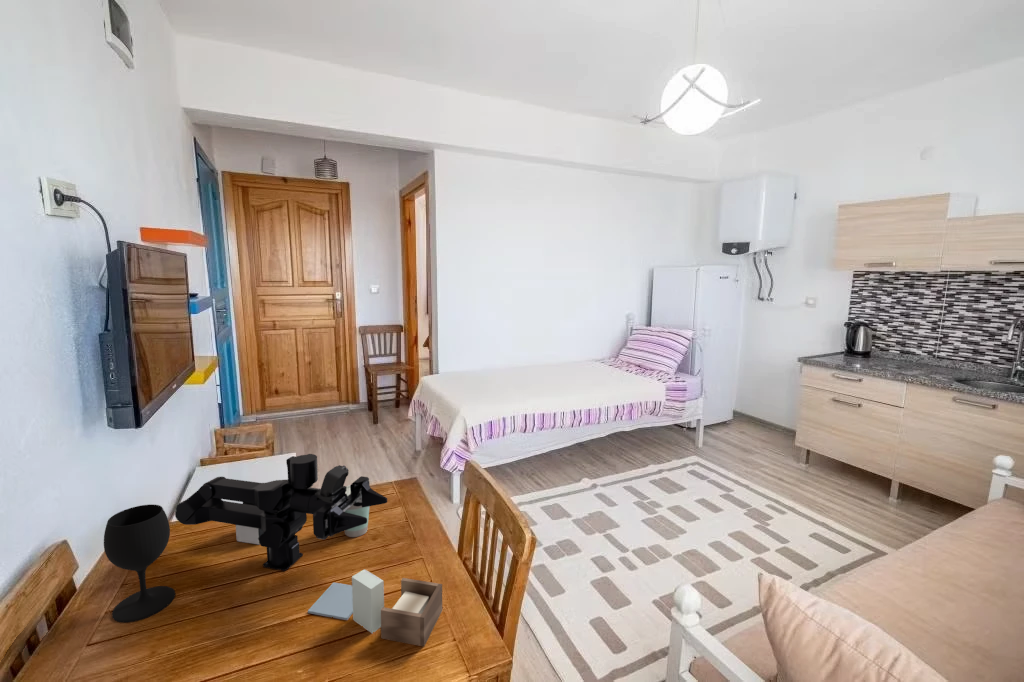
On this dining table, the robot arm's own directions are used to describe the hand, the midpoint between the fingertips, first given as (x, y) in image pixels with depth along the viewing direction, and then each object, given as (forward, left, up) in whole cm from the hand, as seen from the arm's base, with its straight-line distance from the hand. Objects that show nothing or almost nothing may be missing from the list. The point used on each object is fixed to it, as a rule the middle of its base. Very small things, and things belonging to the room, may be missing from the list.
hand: (377, 510), depth 101 cm
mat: (-4, -9, -17) cm, 19 cm away
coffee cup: (-15, +16, -17) cm, 28 cm away
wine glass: (-43, -19, -17) cm, 50 cm away
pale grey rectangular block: (+5, -13, -17) cm, 22 cm away
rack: (+13, -11, -17) cm, 24 cm away
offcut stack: (+13, -11, -17) cm, 24 cm away
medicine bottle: (-39, +8, -17) cm, 44 cm away
